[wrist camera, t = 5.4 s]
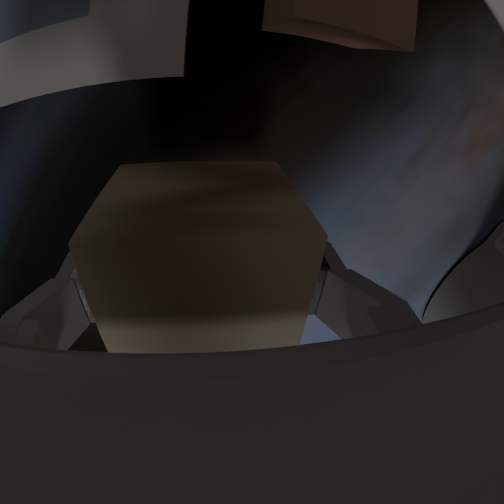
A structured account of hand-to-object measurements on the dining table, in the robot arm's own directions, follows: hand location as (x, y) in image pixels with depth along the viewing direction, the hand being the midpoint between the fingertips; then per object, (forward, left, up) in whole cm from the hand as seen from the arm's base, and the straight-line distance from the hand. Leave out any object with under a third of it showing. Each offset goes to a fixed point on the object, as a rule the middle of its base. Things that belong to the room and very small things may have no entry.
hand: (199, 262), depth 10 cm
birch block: (0, 0, -2) cm, 2 cm away
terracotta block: (-5, -11, -7) cm, 14 cm away
